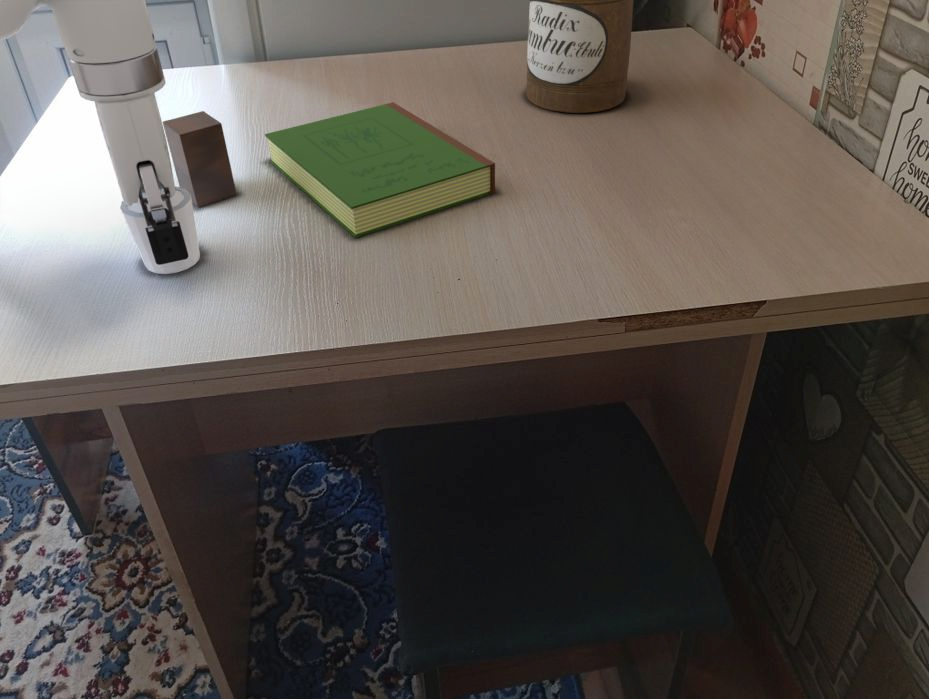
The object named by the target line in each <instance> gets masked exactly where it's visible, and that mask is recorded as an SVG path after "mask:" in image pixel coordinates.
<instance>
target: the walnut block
mask: <svg viewBox="0 0 929 699" xmlns="http://www.w3.org/2000/svg"><path fill="white" fill-rule="evenodd" d="M162 125H163V129H164V133H165V137H166V141H167V146H168V150H169V153H170V155H171V156H170V157H171V159H172V164H173V167H174V171H175V175H176V178H177V183H178V187H180V188H183V189H186V190H187V191H188V192H189V193H190V194H191V199H192V205H193V206H196V207H197V208H201V207H205V206H207V205H210V204H213V203H216V202H220V201H223V200H225V199H226V200H227V199H228V198H232V197H235V196H237V195H238V193H237V189H236V184H235V180H234V175H233V171H232V167H231V162H230V156H229V153H228V148H227V144H226V139H225V134H224V133H225V132H224V129H223V124H222V122H220V121H219V120H218V119H216V118H214V117H213V116H211V115H210V114H208V113H207V112H206V111H204V110H201V111H198V112H194V113H190V114H186V115H183V116H178V117H175V118H171V119H168V120H162Z"/></svg>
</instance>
